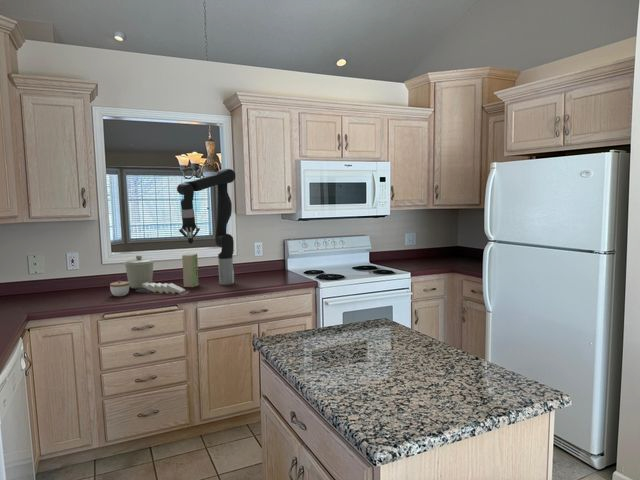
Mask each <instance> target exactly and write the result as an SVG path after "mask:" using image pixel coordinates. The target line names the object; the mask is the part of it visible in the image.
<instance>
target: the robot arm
mask: <svg viewBox="0 0 640 480" xmlns="http://www.w3.org/2000/svg"><path fill="white" fill-rule="evenodd" d="M235 180H236V172H235V171H234V170H233V169H232V168H221V169H219V170H217V173H216V174H214V175H211V176H210V175H209V176H205V177H200V178H197V179H194V180H191V181H184V182H181V183H179V184H178V185H177V187H176V191H177V193H179V194H180V195H182V196H183V199H181V200H180V208H181V215H180V216H181V220H182V221H181V222H182V226H181V228H179V229H178V231H179V232H180V234H181V235H183V237H184V238H187V242H188V243H189V244H194V237H197V235H198V233H199V231H200V230H201V228H200V227H199V226H197V224H196V217H195V210H194V209H195V208H194V203H193V202H194V194H195V192H200V191H203V190H205V189H209V188H211V187H214V186H217V188H216V189H217V206H216V213H217V216H216V230H215V231H216V232H215V239H214V241H215V244H216V246H217V247H219V248H221V251H220V252H219V253H218V255H217V258H218V260H217V261H218V279H219V280H218V283H219V285H221V286H226V285H227V286H228V285H233V284H234V283H235V271H234V262H233V255H234V250H235V249H234V242H235V241H234V237H233V235H232V234H229V233H227V226H228V223H229V220H230V219H231V217H232V212H233V211H232V208H233V205H232V200H231V198H230V196H229V191H228V184H231V183H233V182H234V181H235ZM194 231H195V232H194Z"/></svg>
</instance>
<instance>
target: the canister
mask: <svg viewBox="0 0 640 480" xmlns="http://www.w3.org/2000/svg"><path fill="white" fill-rule="evenodd" d="M154 263H155V260H152V259H150V258H143V256H142V255H141V254H137V255H136V256H135V258H134V259H130V260H126V261H125V262H124V263H123V265H124V266H125V270H126V276H127V277H126V278H127V282H129V288H131V289H135V290H138V289H144V287H142V284H143V283H146V282H148V283H153V275H154Z"/></svg>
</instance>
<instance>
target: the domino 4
mask: <svg viewBox="0 0 640 480" xmlns="http://www.w3.org/2000/svg"><path fill="white" fill-rule="evenodd" d="M161 284H162V282H158V283H156V284H155V285H154V287H155V288H157V289H160V290H162V291H164V292H166V293H171V292H169V291H167V290H165V289H163V288H161V287H160V286H161Z"/></svg>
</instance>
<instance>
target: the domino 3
mask: <svg viewBox="0 0 640 480" xmlns="http://www.w3.org/2000/svg"><path fill="white" fill-rule="evenodd" d="M155 284H157V283H156V282H152V283H150V284H148V287H150V288H152V289H154V290H156V291H158V292H160V293H163V292H164V291H162V290H160V289H157V288H155V287H154V285H155Z"/></svg>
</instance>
